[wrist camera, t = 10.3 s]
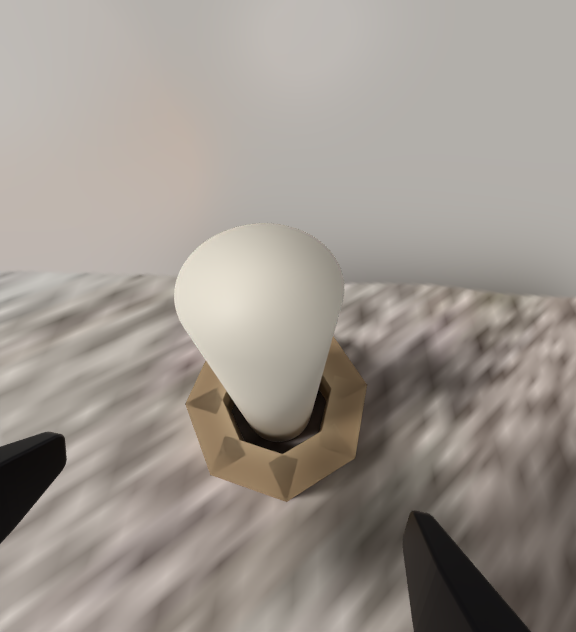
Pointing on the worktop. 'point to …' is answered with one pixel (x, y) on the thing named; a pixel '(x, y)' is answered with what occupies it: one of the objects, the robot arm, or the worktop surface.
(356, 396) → the tan open ring
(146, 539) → the worktop surface
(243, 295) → the dowel
